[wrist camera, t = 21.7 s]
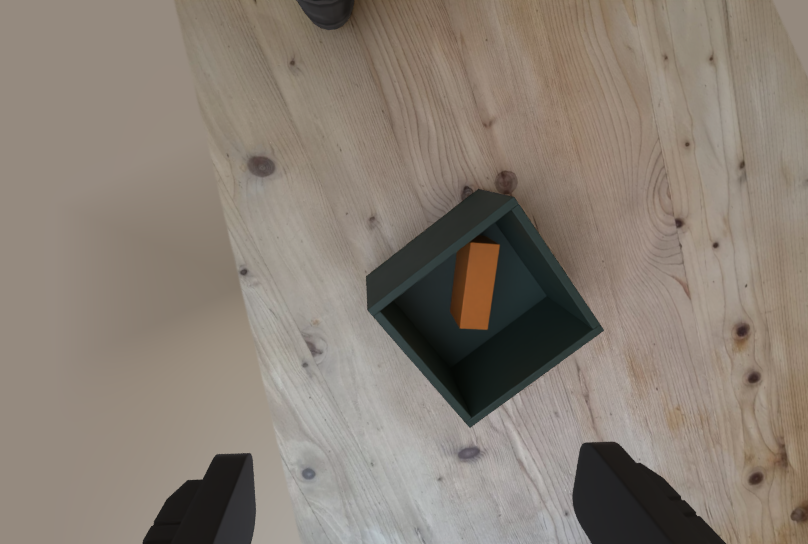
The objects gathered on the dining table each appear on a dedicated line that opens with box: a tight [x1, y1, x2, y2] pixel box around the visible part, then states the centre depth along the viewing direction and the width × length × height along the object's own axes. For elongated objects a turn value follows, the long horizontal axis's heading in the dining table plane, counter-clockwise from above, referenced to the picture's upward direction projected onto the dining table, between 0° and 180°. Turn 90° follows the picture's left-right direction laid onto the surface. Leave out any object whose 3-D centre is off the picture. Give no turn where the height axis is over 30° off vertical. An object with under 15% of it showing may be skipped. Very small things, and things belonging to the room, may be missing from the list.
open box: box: [366, 189, 604, 427], centre depth 42 cm, size 16×16×11 cm
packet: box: [450, 235, 500, 330], centre depth 44 cm, size 3×5×9 cm
